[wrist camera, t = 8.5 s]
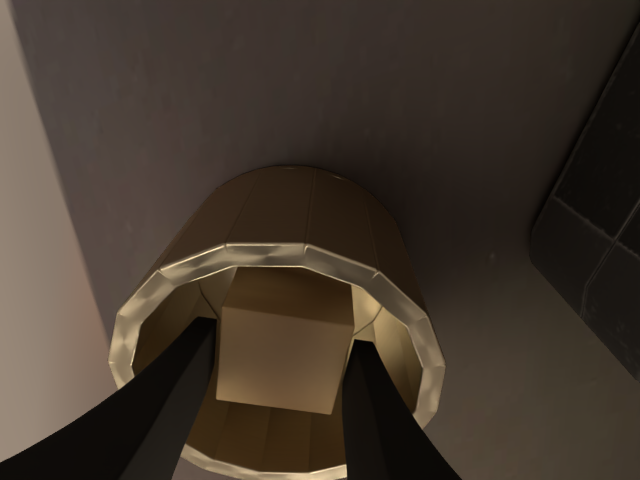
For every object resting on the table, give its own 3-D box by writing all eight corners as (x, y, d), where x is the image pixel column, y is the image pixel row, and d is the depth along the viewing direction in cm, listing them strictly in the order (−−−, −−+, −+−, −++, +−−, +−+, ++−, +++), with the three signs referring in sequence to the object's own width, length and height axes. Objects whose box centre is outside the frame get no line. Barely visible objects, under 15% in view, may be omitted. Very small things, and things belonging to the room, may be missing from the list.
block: (239, 323, 17) (215, 400, 13) (246, 242, 15) (221, 307, 11) (331, 336, 17) (331, 415, 13) (349, 258, 15) (355, 326, 12)
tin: (201, 353, 20) (149, 482, 14) (164, 164, 15) (64, 242, 9) (396, 356, 19) (423, 487, 14) (417, 164, 15) (471, 244, 9)
